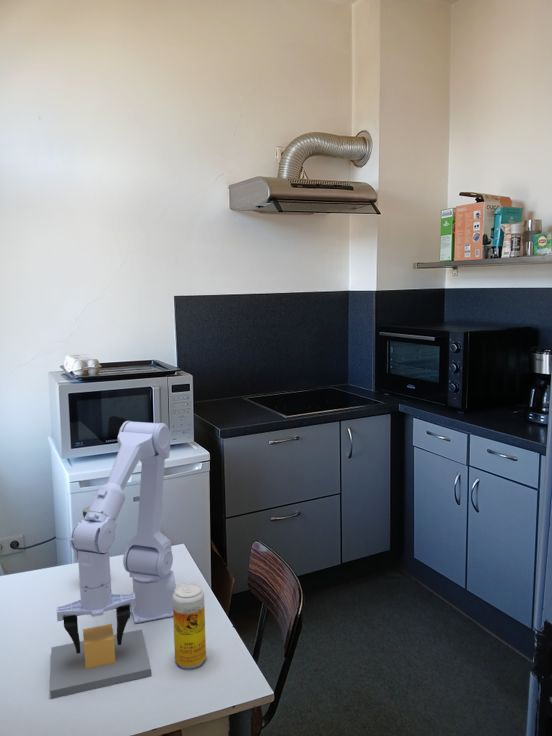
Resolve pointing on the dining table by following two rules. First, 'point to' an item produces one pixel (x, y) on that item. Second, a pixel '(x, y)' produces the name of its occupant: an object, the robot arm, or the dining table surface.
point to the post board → (76, 678)
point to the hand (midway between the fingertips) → (99, 646)
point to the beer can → (189, 625)
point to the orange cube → (99, 646)
